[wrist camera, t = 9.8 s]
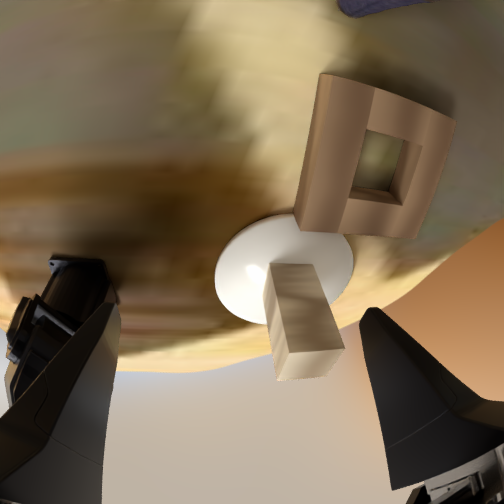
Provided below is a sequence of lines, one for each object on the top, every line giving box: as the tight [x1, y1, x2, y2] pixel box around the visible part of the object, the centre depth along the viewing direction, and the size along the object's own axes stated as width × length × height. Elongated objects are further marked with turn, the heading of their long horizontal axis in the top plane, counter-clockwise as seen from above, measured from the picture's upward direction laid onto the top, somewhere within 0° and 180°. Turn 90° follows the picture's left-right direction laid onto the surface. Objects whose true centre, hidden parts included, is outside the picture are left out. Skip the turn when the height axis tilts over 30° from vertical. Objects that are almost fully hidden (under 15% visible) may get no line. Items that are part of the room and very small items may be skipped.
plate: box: [215, 213, 353, 324], centre depth 26 cm, size 13×13×1 cm
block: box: [262, 263, 345, 381], centre depth 22 cm, size 4×4×9 cm
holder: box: [293, 74, 457, 239], centre depth 19 cm, size 11×11×2 cm
